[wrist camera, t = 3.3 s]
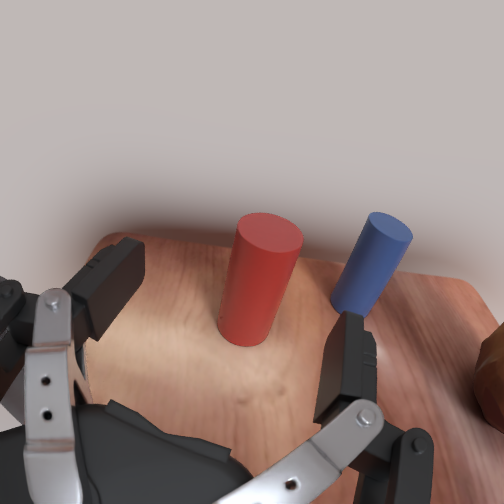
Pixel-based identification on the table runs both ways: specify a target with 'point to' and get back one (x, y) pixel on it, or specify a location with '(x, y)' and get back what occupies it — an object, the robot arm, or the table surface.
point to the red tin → (257, 276)
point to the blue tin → (371, 264)
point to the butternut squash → (491, 379)
